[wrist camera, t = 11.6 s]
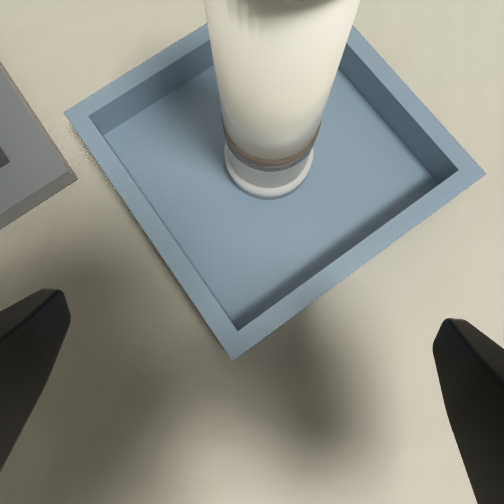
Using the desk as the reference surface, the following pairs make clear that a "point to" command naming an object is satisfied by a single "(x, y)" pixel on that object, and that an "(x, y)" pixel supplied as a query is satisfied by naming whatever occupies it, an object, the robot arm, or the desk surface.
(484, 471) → the robot arm
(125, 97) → the parts tray
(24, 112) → the grey square socket base
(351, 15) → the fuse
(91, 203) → the desk surface
